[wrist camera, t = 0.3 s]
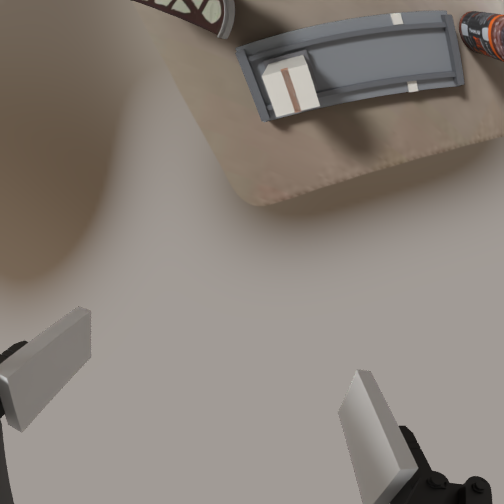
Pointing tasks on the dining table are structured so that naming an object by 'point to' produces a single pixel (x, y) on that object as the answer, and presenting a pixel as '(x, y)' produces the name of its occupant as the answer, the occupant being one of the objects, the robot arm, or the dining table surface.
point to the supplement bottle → (483, 33)
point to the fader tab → (290, 83)
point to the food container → (200, 13)
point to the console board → (363, 57)
